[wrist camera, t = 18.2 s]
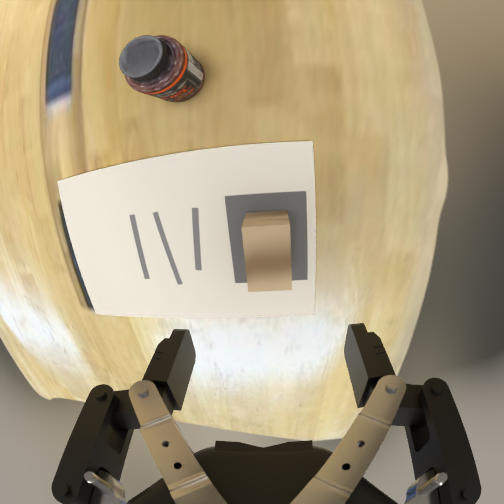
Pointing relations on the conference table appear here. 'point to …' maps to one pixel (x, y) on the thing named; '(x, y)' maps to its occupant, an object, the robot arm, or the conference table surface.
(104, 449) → the robot arm
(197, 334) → the conference table surface
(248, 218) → the block
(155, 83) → the supplement bottle
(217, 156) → the board
